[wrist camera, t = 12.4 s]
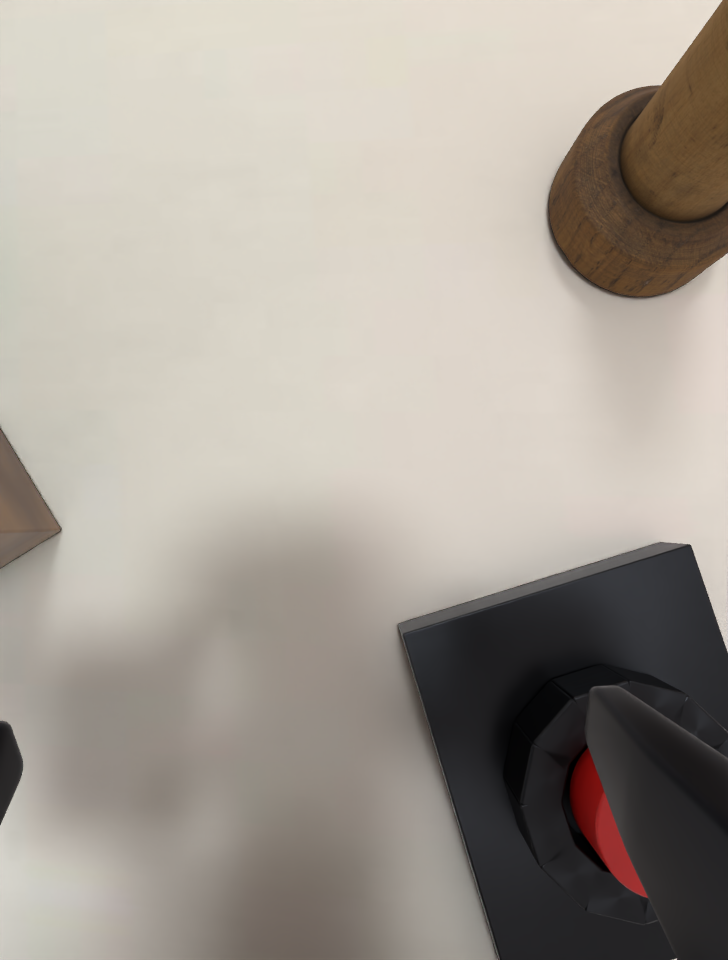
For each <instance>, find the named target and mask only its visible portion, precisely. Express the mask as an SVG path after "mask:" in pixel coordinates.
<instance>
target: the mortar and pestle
mask: <svg viewBox="0 0 728 960" xmlns="http://www.w3.org/2000/svg"><path fill="white" fill-rule="evenodd" d="M549 214H550V222H551V227H552V230H553V233H554V236H555V239H556V241H557V243H558V245H559V246H560V248H561V249H562V251H563V252H564V254H565V255H566V256H567V258H568V260H569V261H570V263H571V264H572V266H573V267H574V268H575V269H576V270H577V271H578V272H580V273H581V274H582V275H583V276H584V277H586V278H587V279H588V280H590V281H591V282H593V283H594V284H596V285H598V286H600V287H602V288H604V289H606V290H609V291H612V292H615V293H619V294H623V295H628V296H638V297H643V296H654V295H659V294H663V293H667V292H670V291H673V290H675V289H677V288H679V287H681V286H683V285H684V284H686V283H688V282H689V281H691V280H692V279H694V278H695V277H696V276H698V275H699V274H700V273H701V272H703V271H704V270H705V269H707V268H708V267H709V266H711V265H712V264H713V263H715V262H716V261H717V260H719V259H720V258H722V257H723V256H724V255H725V254H727V253H728V0H723V1H722V2H721V4H720V5H719V6H718V8H717V9H716V11H715V12H714V13H713V15H712V16H711V18H710V19H709V20H708V22H707V23H706V25H705V26H704V27H703V29H702V30H701V31H700V33H699V34H698V36H697V37H696V38H695V40H694V41H693V43H692V44H691V45H690V47H689V48H688V49H687V51H686V52H685V54H684V55H683V56H682V58H681V59H680V60H679V62H678V63H677V65H676V66H675V67H674V69H673V70H672V71H671V73H670V74H669V76H668V77H667V78H666V80H665V81H664V82H663V84H662V85H661V86H659V85H658V86H646V87H640V88H636V89H633V90H630V91H627V92H625V93H622V94H620V95H618V96H616V97H614V98H613V99H611V100H610V101H608V102H607V103H606V104H604V105H603V106H602V107H601V108H600V109H599V110H598V111H597V112H596V113H595V114H594V115H593V116H592V117H591V118H590V120H589V121H588V122H587V124H586V125H585V127H584V128H583V129H582V131H581V133H580V134H579V136H578V137H577V139H576V141H575V142H574V144H573V146H572V147H571V149H570V150H569V152H568V154H567V155H566V157H565V159H564V160H563V162H562V164H561V165H560V167H559V169H558V171H557V174H556V176H555V179H554V181H553V185H552V189H551V193H550V200H549Z"/></svg>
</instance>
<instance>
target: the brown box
mask: <svg viewBox="0 0 728 960" xmlns="http://www.w3.org/2000/svg"><path fill="white" fill-rule="evenodd" d="M59 531H60V527H59V526H58V524H57V522H56V521H55V519H54V517H53V516H52V514H51V512H50V511H49V509H48V507H47V506H46V504H45V502H44V501H43V499H42V497H41V496H40V494H39V492H38V491H37V489H36V487H35V486H34V484H33V482H32V481H31V479H30V477H29V476H28V474H27V472H26V471H25V469H24V467H23V466H22V464H21V462H20V461H19V459H18V458H17V456H16V454H15V453H14V451H13V449H12V448H11V446H10V444H9V443H8V441H7V439H6V438H5V436H4V434H3V433H2V431H1V429H0V568H1V567H3V566H4V565H6V564H8V563H9V562H11V561H12V560H14V559H16V558H17V557H19V556H20V555H22V554H24V553H25V552H27V551H29V550H30V549H32V548H33V547H35V546H37V545H38V544H40V543H41V542H43V541H45V540H46V539H48V538H49V537H51V536H53V535H54V534H56V533H58V532H59Z"/></svg>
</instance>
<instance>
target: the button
mask: <svg viewBox="0 0 728 960" xmlns="http://www.w3.org/2000/svg"><path fill="white" fill-rule="evenodd" d="M570 804H571V809H572V813H573V816H574V819H575V821H576V823H577V825H578V827H579V829H580V830H581V832H582V833H583V835H584V836H585V837H586V839H587V840H588V842H589V843H590V844H591V846H592V847H593V848H594V850H595V851H596V853H597V854H598V855H599V857H600V858H601V859H602V861H603V862H604V864H605V865H606V866H607V868H608V869H609V870H610V872H611V873H612V874H613V876H614V877H615V878H616V879H617V880H618V881H619V882H620V883H622V884H623V885H624V886H625V887H626V888H628V889H630V890H631V891H633V892H635V893H637V894H639V895H641V896H643V897H647V898H648V896H647V894H646V892H645V890H644V888H643V886H642V884H641V882H640V880H639V877H638V875H637V873H636V871H635V869H634V867H633V865H632V862H631V860H630V858H629V856H628V853H627V851H626V849H625V846H624V844H623V841H622V839H621V836H620V833H619V831H618V828H617V825H616V823H615V820H614V817H613V814H612V812H611V809H610V806H609V803H608V801H607V798H606V795H605V792H604V790H603V787H602V784H601V781H600V779H599V776H598V773H597V770H596V768H595V765H594V762H593V759H592V756H591V754H590V751H589V748H587V749H586V750H585V751H584V753H583V754H582V755H581V757H580V758H579V760H578V762H577V763H576V766H575V768H574V770H573V773H572V777H571V782H570Z"/></svg>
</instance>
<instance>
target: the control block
mask: <svg viewBox="0 0 728 960" xmlns="http://www.w3.org/2000/svg"><path fill="white" fill-rule="evenodd" d="M398 626H399V629H400V633H401V636H402V639H403V643H404V646H405V649H406V653H407V656H408V659H409V663H410V666H411V669H412V673H413V676H414V679H415V683H416V686H417V689H418V693H419V696H420V699H421V703H422V706H423V709H424V713H425V716H426V719H427V723H428V726H429V729H430V733H431V736H432V739H433V743H434V746H435V749H436V753H437V756H438V759H439V763H440V766H441V769H442V773H443V776H444V779H445V783H446V786H447V789H448V793H449V796H450V799H451V803H452V806H453V809H454V813H455V816H456V819H457V823H458V826H459V829H460V833H461V836H462V839H463V843H464V846H465V850H466V853H467V856H468V860H469V863H470V866H471V870H472V873H473V876H474V880H475V883H476V886H477V890H478V893H479V896H480V900H481V903H482V906H483V910H484V913H485V916H486V920H487V923H488V926H489V930H490V933H491V936H492V940H493V943H494V946H495V950H496V953H497V956H498V960H673V959H676V956H675V953H674V951H673V949H672V947H671V945H670V943H669V941H668V939H667V937H666V934H665V932H664V930H663V928H662V926H661V924H660V922H659V920H658V918H657V915H656V913H655V911H654V909H653V907H652V905H651V903H650V901H649V899H648V898H647V897H643V896H641V895H639V894H637V893H635V892H633V891H631V890H630V889H628V888H626V887H625V886H624V885H623V884H622V883H620V882H619V881H618V880H617V879H616V878H615V877H614V876H613V874H612V873H611V872H610V870H609V869H608V868H607V866H606V865H605V864H604V862H603V861H602V859H601V858H600V857H599V855H598V854H597V853H596V851H595V850H594V848H593V847H592V846H591V844H590V843H589V842H588V840H587V839H586V837H585V836H584V835H583V833H582V832H581V830H580V829H579V827H578V825H577V823H576V821H575V819H574V816H573V813H572V809H571V804H570V782H571V777H572V773H573V770H574V768H575V766H576V763H577V762H578V760H579V758H580V757H581V755H582V754H583V753H584V751H585V750H586V749H587V748H588V745H587V742H586V738H585V719H586V710H587V702H588V694H589V691H590V689H591V688H592V687H595V686H609V685H616V686H619V687H621V688H623V689H625V690H626V691H628V692H629V693H631V694H632V695H634V696H635V697H637V698H638V699H640V700H641V701H643V702H644V703H646V704H647V705H649V706H650V707H652V708H653V709H655V710H656V711H658V712H659V713H661V714H662V715H664V716H665V717H667V718H668V719H670V720H671V721H673V722H674V723H676V724H677V725H679V726H680V727H682V728H683V729H685V730H686V731H688V732H689V733H691V734H692V735H694V736H695V737H697V738H698V739H700V740H701V741H703V742H704V743H706V744H707V745H709V746H710V747H712V748H713V749H715V750H716V751H718V752H719V753H721V754H722V755H724V756H725V757H727V758H728V652H727V649H726V646H725V644H724V641H723V638H722V635H721V632H720V629H719V626H718V623H717V620H716V617H715V614H714V611H713V608H712V605H711V603H710V600H709V597H708V594H707V591H706V588H705V585H704V582H703V579H702V576H701V573H700V570H699V567H698V564H697V561H696V559H695V556H694V553H693V550H692V547H691V545H690V544H677V543H664V542H660V543H657V544H654V545H650V546H647V547H644V548H641V549H637V550H634V551H631V552H628V553H625V554H621V555H618V556H615V557H612V558H608V559H605V560H602V561H599V562H596V563H592V564H589V565H586V566H583V567H579V568H576V569H573V570H570V571H567V572H563V573H560V574H557V575H554V576H550V577H547V578H544V579H541V580H538V581H534V582H531V583H528V584H525V585H521V586H518V587H515V588H512V589H509V590H505V591H502V592H499V593H496V594H492V595H489V596H486V597H483V598H480V599H476V600H473V601H470V602H467V603H463V604H460V605H457V606H454V607H451V608H447V609H444V610H441V611H438V612H434V613H431V614H428V615H425V616H422V617H418V618H415V619H412V620H409V621H405V622H402V623H399V624H398Z"/></svg>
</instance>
